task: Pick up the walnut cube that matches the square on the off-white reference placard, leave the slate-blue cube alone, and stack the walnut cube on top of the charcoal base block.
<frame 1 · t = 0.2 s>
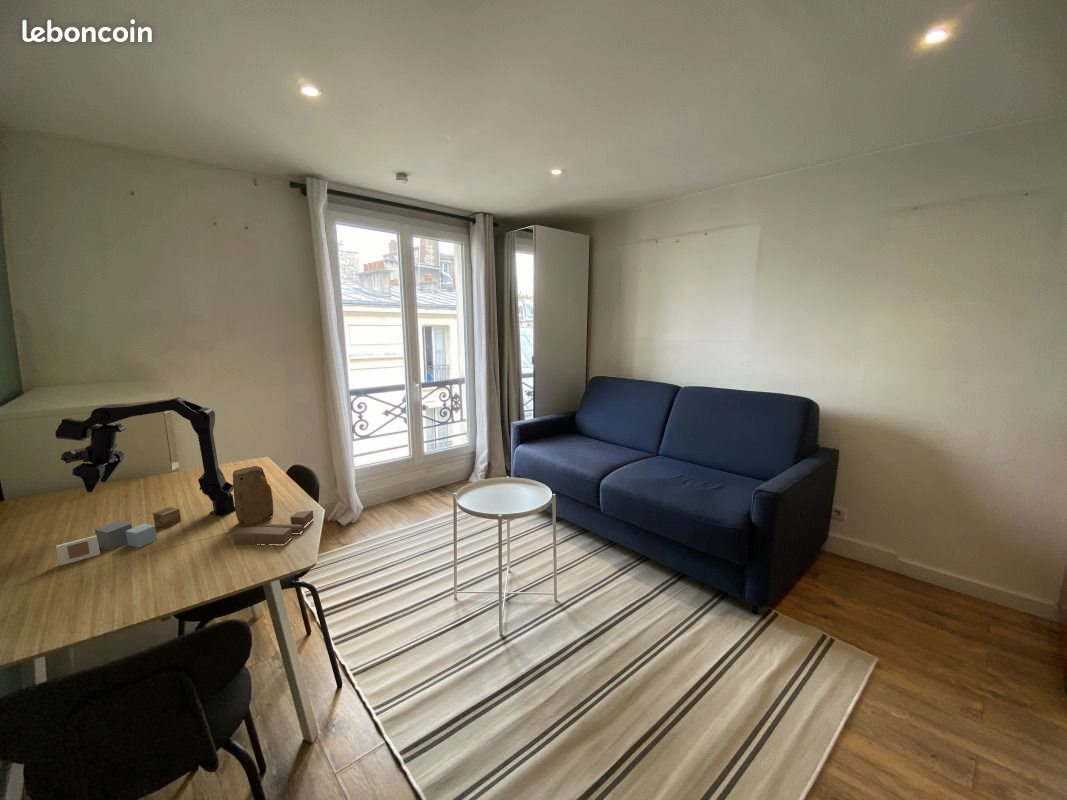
hand: (96, 487, 135), 15 cm above the table, tool pointing down, fingers open, 9 cm apart
wooden block set: (277, 534, 137), on the table
base block: (116, 543, 128), on the table
walnut cube: (168, 524, 141), on the table
block: (256, 521, 145), on the table
slate cube: (142, 542, 129), on the table
reference placard: (80, 559, 120), on the table
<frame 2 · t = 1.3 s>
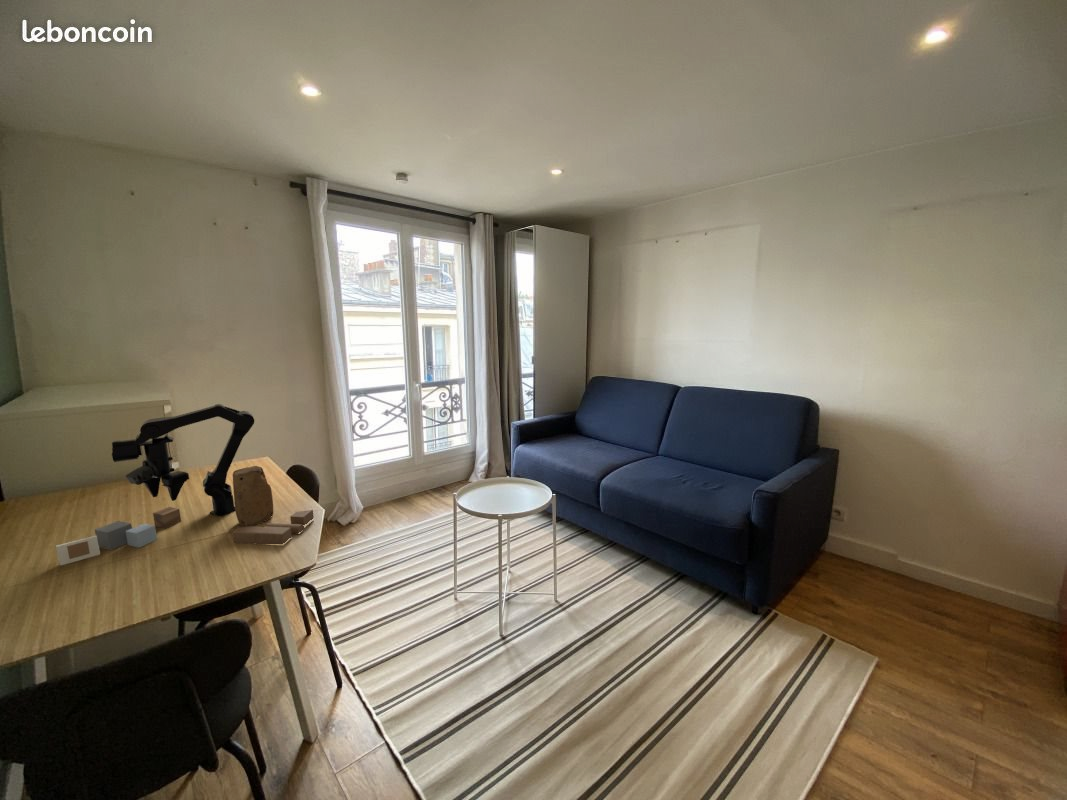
hand: (164, 498, 140), 9 cm above the table, tool pointing down, fingers open, 9 cm apart
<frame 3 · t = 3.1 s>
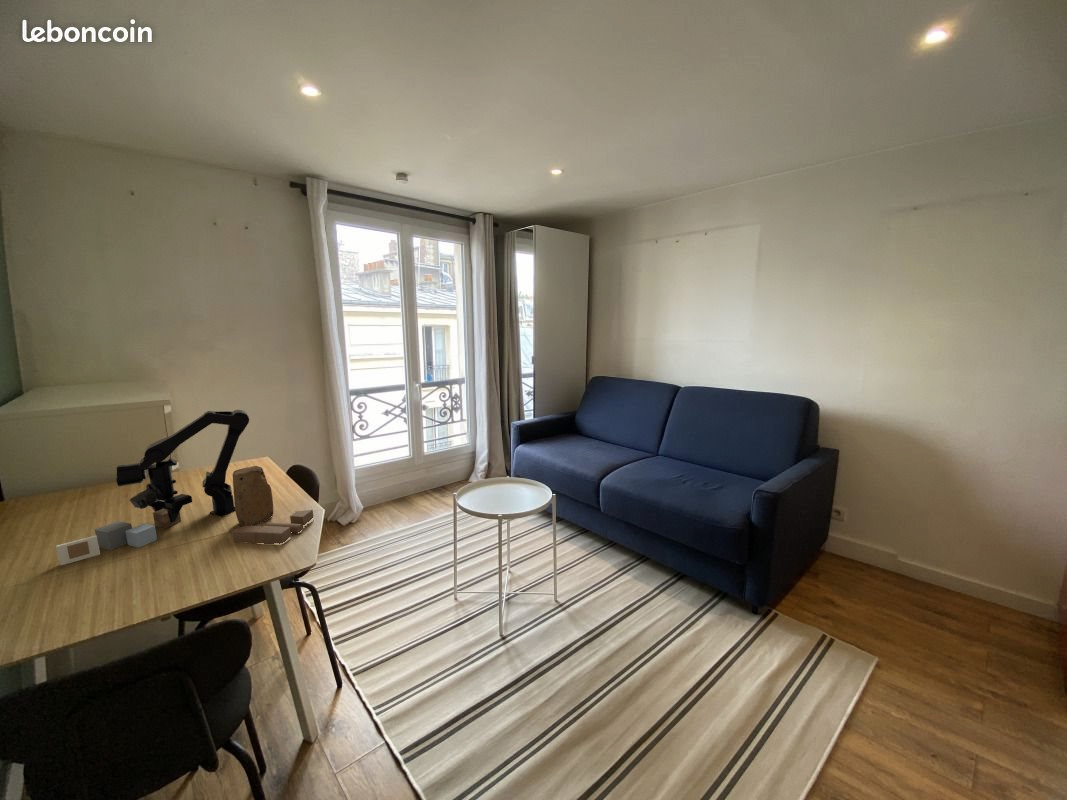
hand: (167, 521, 141), 1 cm above the table, tool pointing down, fingers closed on walnut cube, 5 cm apart
walnut cube: (168, 523, 141), on the table, touching gripper
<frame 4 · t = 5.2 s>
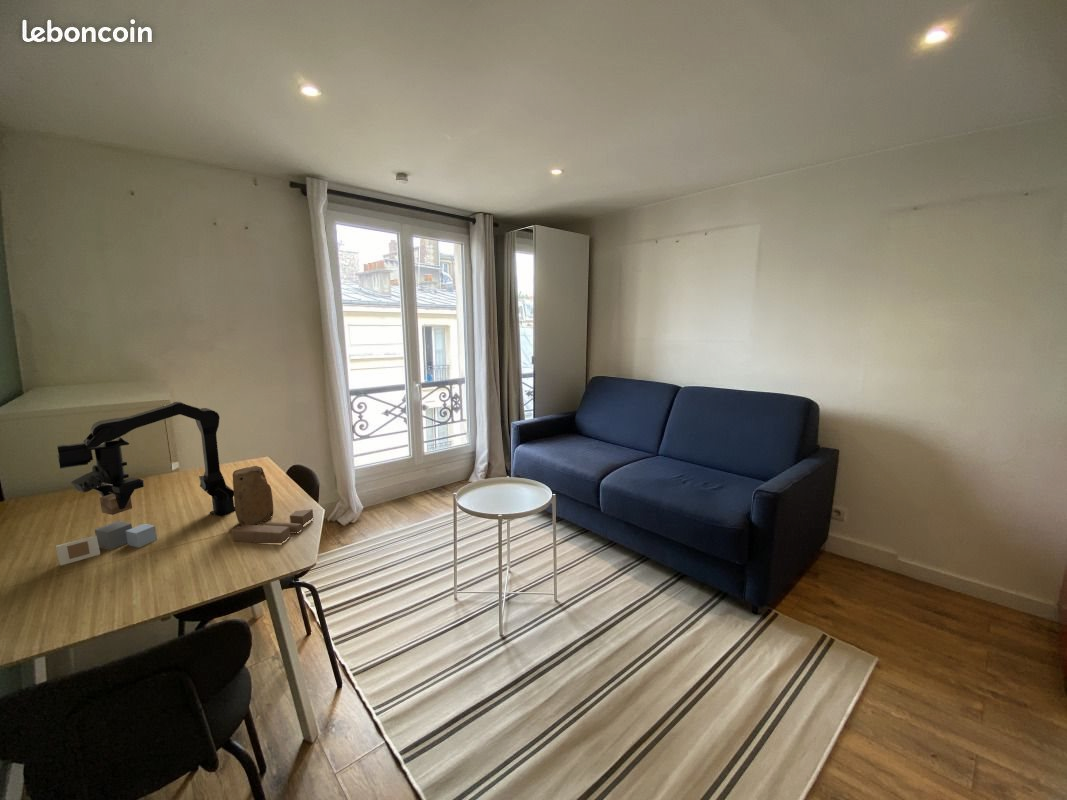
hand: (116, 507, 128), 12 cm above the table, tool pointing down, fingers closed on walnut cube, 5 cm apart
walnut cube: (117, 510, 128), point 11 cm above the table, touching gripper
when the fingers open (8 cm above the table, at t = 6.6 s): walnut cube drops 2 cm, point 6 cm above the table.
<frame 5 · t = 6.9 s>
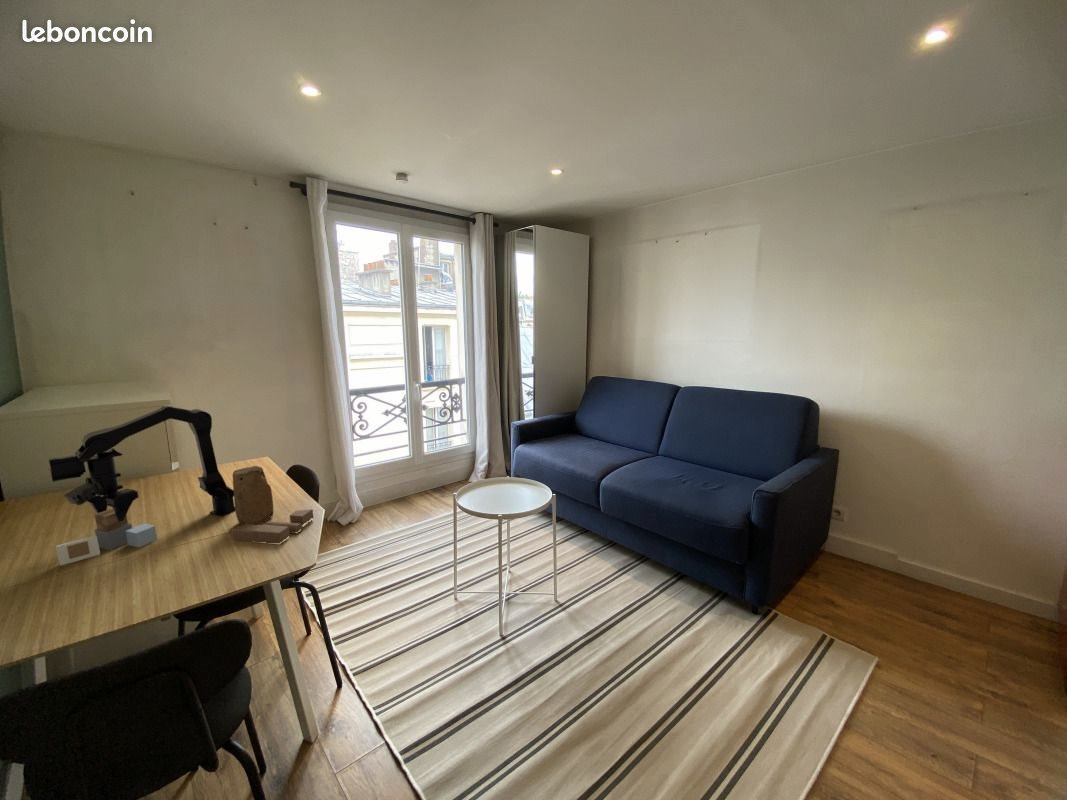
hand: (111, 518, 127), 8 cm above the table, tool pointing down, fingers open, 8 cm apart
walnut cube: (112, 526, 127), point 6 cm above the table
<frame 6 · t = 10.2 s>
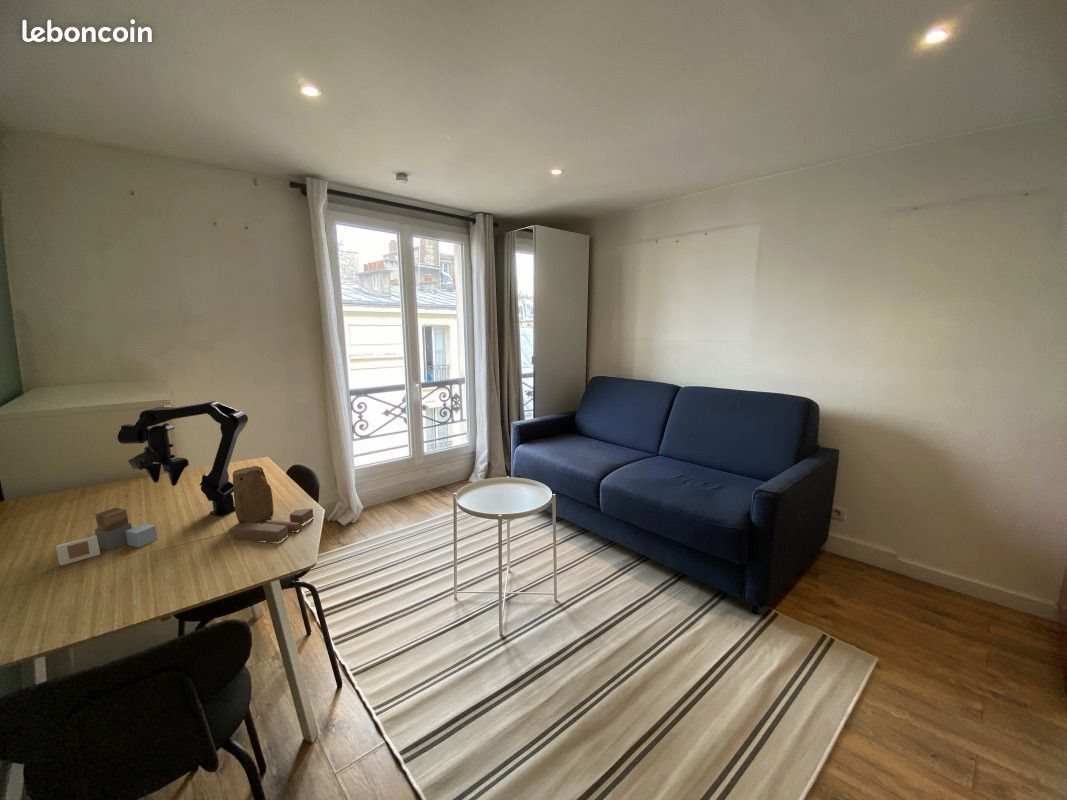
hand: (165, 483, 146), 12 cm above the table, tool pointing down, fingers open, 9 cm apart
base block: (116, 543, 128), on the table, touching walnut cube
walnut cube: (113, 526, 127), point 6 cm above the table, touching base block
at the end: walnut cube 0.2 cm off-centre on the base block, point 6.0 cm above the base block's base; walnut cube tilted 0°; slate cube moved 0.1 cm from its start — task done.
